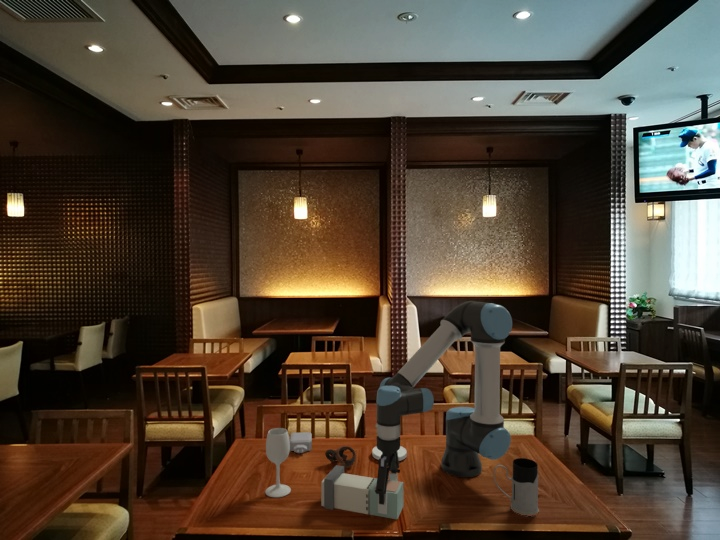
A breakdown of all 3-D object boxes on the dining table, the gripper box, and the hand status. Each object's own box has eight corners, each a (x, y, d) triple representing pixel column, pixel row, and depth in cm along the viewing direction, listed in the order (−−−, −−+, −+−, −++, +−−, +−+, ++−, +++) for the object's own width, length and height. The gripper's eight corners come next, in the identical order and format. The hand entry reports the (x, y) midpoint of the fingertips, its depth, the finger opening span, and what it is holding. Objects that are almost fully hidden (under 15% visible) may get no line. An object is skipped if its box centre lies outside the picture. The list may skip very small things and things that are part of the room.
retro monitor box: (403, 506, 153) (403, 481, 153) (397, 519, 145) (397, 493, 145) (376, 501, 156) (376, 477, 156) (369, 514, 148) (369, 488, 148)
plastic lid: (410, 463, 186) (410, 457, 186) (375, 465, 184) (375, 459, 184) (402, 448, 200) (402, 443, 200) (369, 450, 197) (369, 445, 197)
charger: (288, 458, 190) (290, 443, 205) (311, 457, 191) (311, 442, 206) (288, 446, 190) (290, 432, 205) (311, 445, 191) (311, 432, 206)
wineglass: (269, 500, 157) (269, 438, 157) (262, 488, 165) (261, 429, 164) (294, 494, 161) (294, 433, 161) (286, 483, 169) (285, 425, 168)
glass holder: (541, 517, 147) (542, 470, 146) (494, 513, 149) (495, 466, 149) (536, 503, 155) (536, 458, 155) (491, 499, 158) (492, 455, 157)
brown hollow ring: (353, 459, 190) (358, 446, 186) (351, 480, 181) (356, 466, 177) (324, 452, 189) (328, 438, 185) (320, 472, 181) (325, 458, 177)
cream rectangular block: (376, 500, 157) (376, 471, 157) (367, 516, 147) (367, 485, 147) (332, 492, 162) (332, 464, 162) (319, 507, 152) (319, 478, 152)
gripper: (387, 421, 162) (386, 483, 163) (365, 449, 139) (364, 520, 140) (408, 424, 160) (408, 486, 161) (389, 452, 137) (389, 525, 138)
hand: (388, 502), depth 150 cm, fingers open, 12 cm apart
